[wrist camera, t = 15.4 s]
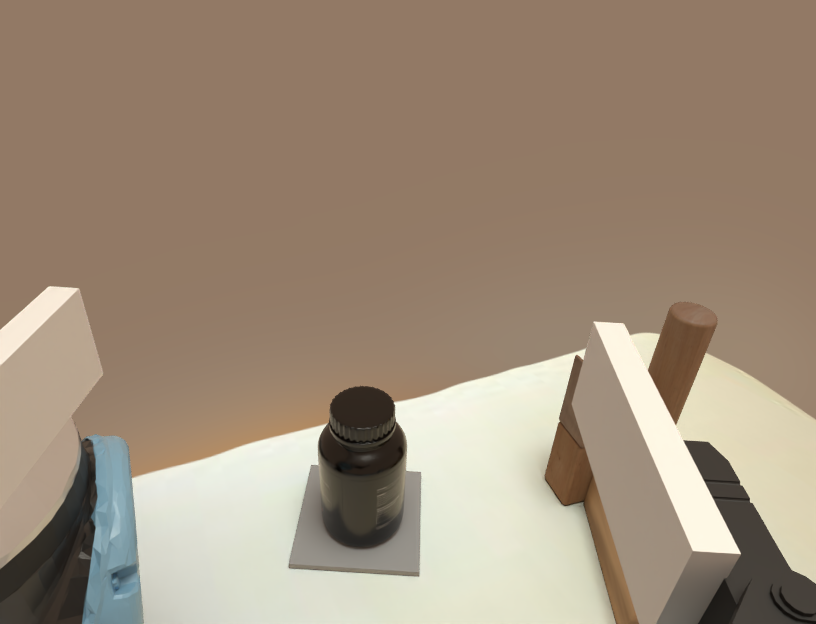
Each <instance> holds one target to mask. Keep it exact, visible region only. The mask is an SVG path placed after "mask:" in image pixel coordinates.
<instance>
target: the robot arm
mask: <svg viewBox="0 0 816 624" xmlns="http://www.w3.org/2000/svg"><path fill="white" fill-rule="evenodd" d="M102 375H103V371H102V367H101V364H100V360H99V356H98V353H97V349H96V346H95V342H94V339H93V335H92V332H91V328H90V326H89V321H88V318H87V314H86V311H85V308H84V304H83V300H82V297H81V293H80V290H79V288H66V287H50V286H49V287H48V288H47V289H46V290H45V291H43V292H42V293H41V294H40V295H39V296H38V297H37V298H36V299H34V300H33V301H32V302H31V303H30V304H29V305H28V306H27V307H26V308H24V310H22V311H21V312H20V313H19V314H18V315H17V316H16V317H14V318H13V319H12V320H11V321H10V322H9V323H8V324H7V325H5V326H4V327H3V328H2V329H1V330H0V624H144V619H143V607H142V597H141V586H140V575H139V559H138V549H137V534H136V521H135V509H134V498H133V487H132V476H131V466H130V456H129V447H128V445H127V443H126V441H125V440H123V439H122V438H120V437H117V436H104V437H102V436H99V435H97V434H95V435H93V436H89V437H86V438H84V439H83V440H82V441H81V438H80V436H79V432H78V430H77V428H76V425H75V423H74V421H73V420H72V417H71V415H72V414H73V413H74V411H75V410H76V409H77V408H78V406H79V405H80V403H81V402H82V401H83V400H84V398H85V397H86V396H87V395H88V393H89V392H90V391H91V389H92V388H93V387H94V385H95V384H96V383H97V381H98V380H99V379H100V377H101V376H102ZM572 407H573V410H574V414H575V417H576V420H577V423H578V427H579V430H580V433H581V436H582V440H583V443H584V446H585V449H586V453H587V456H588V459H589V462H590V466H591V469H592V472H593V475H594V479H595V482H596V485H597V489H598V492H599V495H600V498H601V502H602V505H603V508H604V511H605V515H606V518H607V521H608V524H609V528H610V531H611V534H612V537H613V541H614V544H615V547H616V550H617V554H618V557H619V560H620V563H621V567H622V570H623V573H624V577H625V580H626V583H627V586H628V590H629V593H630V596H631V599H632V603H633V606H634V609H635V612H636V616H637V619H638V622H639V624H816V584H815V583H814V582H812V581H811V580H810V579H808V578H807V577H806V576H803V575H801V574H799V573H797V572H794V571H792V570H791V568H790V567H789V566H788V564H787V562H786V560H785V559H784V557H783V555H782V553H781V552H780V550H779V548H778V546H777V545H776V543H775V541H774V540H773V538H772V536H771V534H770V533H769V531H768V529H767V527H766V526H765V524H764V522H763V520H762V519H761V517H760V515H759V513H758V512H757V510H756V508H755V507H754V505H753V503H750V498H749V496H748V494H747V493H746V491H745V489H744V487H743V486H740V480H739V479H738V477H737V475H736V474H735V472H734V470H733V468H732V467H731V465H730V463H729V461H728V460H727V459H726V458H725V457H724V456H722V455H721V454H720V453H719V452H718V451H717V450H716V449H715V448H714V447H713V446H712V445H711V444H710V443H709V442H700V441H685V440H683V439H682V437H681V435H680V433H679V431H678V429H677V427H676V425H675V423H674V421H673V419H672V417H671V415H670V413H669V411H668V410H667V408H666V406H665V404H664V402H663V400H662V398H661V396H660V394H659V392H658V390H657V388H656V386H655V384H654V382H653V380H652V378H651V376H650V374H649V372H648V370H647V368H646V366H645V364H644V362H643V360H642V358H641V357H640V355H639V353H638V351H637V349H636V347H635V345H634V343H633V341H632V339H631V337H630V335H629V333H628V331H627V329H626V327H625V325H624V324H622V323H621V324H620V323H606V322H594V323H593V327H592V330H591V334H590V338H589V341H588V345H587V349H586V352H585V356H584V360H583V363H582V367H581V371H580V374H579V378H578V382H577V385H576V389H575V393H574V396H573V400H572Z"/></svg>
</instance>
